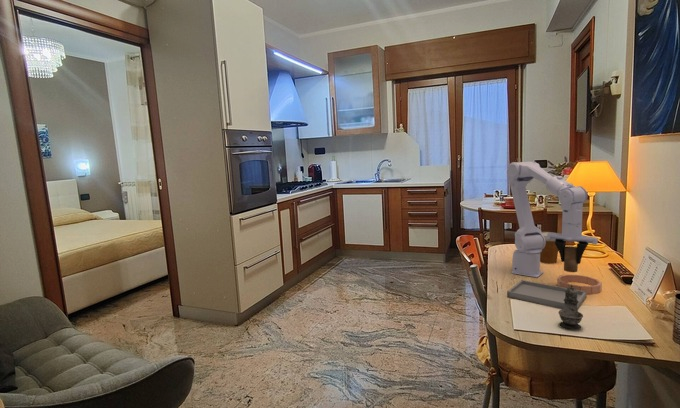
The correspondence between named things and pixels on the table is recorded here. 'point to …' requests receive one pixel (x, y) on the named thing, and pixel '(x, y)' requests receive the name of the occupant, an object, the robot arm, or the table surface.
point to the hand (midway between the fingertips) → (570, 262)
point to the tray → (542, 294)
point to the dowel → (570, 259)
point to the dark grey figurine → (570, 311)
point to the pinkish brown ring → (592, 289)
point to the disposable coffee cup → (549, 250)
